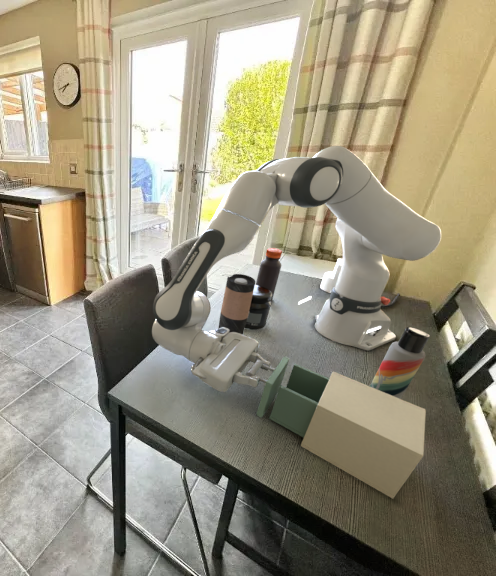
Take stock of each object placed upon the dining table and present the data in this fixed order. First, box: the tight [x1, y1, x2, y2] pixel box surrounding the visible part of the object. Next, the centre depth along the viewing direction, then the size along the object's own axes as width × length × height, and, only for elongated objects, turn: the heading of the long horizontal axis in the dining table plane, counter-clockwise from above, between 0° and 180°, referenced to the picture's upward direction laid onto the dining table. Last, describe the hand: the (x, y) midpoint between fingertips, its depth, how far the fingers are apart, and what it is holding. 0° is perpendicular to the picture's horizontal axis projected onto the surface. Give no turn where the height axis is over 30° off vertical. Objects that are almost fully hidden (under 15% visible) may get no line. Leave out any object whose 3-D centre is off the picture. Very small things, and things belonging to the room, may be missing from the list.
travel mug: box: [217, 273, 256, 335], centre depth 91 cm, size 8×8×20 cm
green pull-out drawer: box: [245, 356, 330, 439], centre depth 67 cm, size 18×11×10 cm, turn 46°
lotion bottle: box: [369, 326, 430, 400], centre depth 68 cm, size 6×6×20 cm
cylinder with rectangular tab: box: [319, 257, 343, 294], centre depth 122 cm, size 9×9×12 cm
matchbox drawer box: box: [300, 371, 427, 500], centre depth 59 cm, size 15×13×12 cm
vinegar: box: [255, 247, 283, 303], centre depth 113 cm, size 7×7×20 cm
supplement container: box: [245, 284, 272, 331], centre depth 100 cm, size 10×10×12 cm
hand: (264, 374), depth 70 cm, fingers closed on green pull-out drawer, 6 cm apart
